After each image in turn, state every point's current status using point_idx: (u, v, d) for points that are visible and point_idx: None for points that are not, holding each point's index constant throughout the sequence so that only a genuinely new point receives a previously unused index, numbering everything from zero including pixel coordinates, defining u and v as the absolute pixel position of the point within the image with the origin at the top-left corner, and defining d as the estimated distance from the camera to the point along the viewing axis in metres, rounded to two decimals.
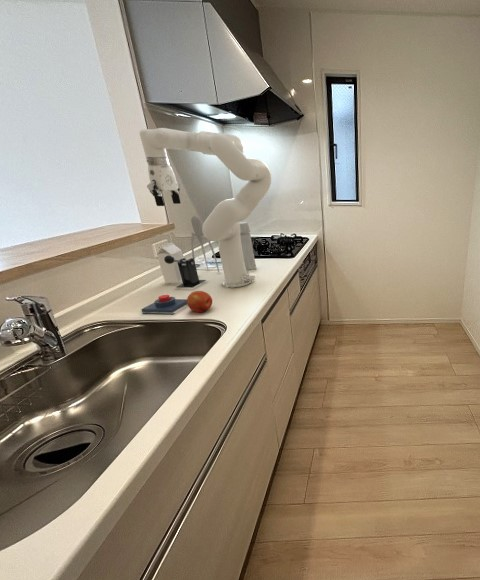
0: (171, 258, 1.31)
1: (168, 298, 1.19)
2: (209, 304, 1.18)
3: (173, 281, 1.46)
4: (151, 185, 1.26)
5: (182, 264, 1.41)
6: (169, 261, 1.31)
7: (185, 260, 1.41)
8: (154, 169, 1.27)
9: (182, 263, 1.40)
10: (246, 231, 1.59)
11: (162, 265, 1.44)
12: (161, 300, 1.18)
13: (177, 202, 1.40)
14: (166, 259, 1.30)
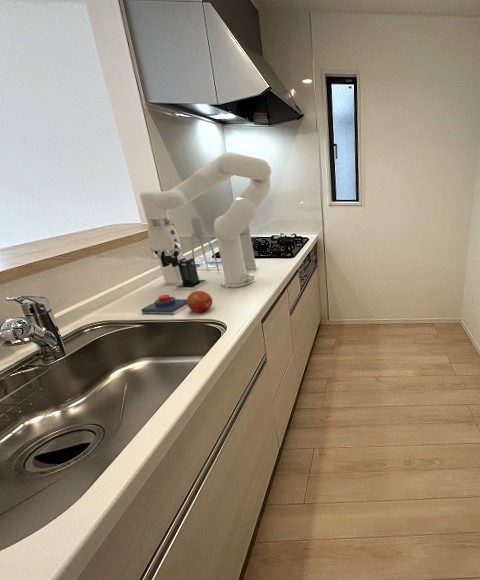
0: None
1: (168, 298, 1.19)
2: (209, 304, 1.18)
3: (173, 281, 1.46)
4: None
5: (182, 264, 1.41)
6: (169, 261, 1.31)
7: (185, 260, 1.41)
8: (174, 228, 1.28)
9: (182, 263, 1.40)
10: (246, 231, 1.59)
11: (162, 265, 1.44)
12: (161, 300, 1.18)
13: (167, 264, 1.34)
14: (166, 259, 1.30)
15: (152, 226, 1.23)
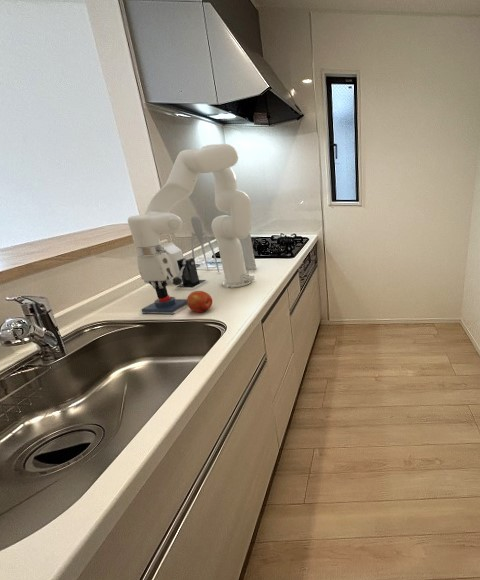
0: (179, 282, 1.36)
1: (168, 299, 1.19)
2: (209, 304, 1.18)
3: None
4: None
5: None
6: (179, 284, 1.37)
7: (185, 264, 1.40)
8: (166, 256, 1.14)
9: None
10: None
11: None
12: (161, 301, 1.18)
13: None
14: (176, 284, 1.36)
15: (142, 255, 1.09)
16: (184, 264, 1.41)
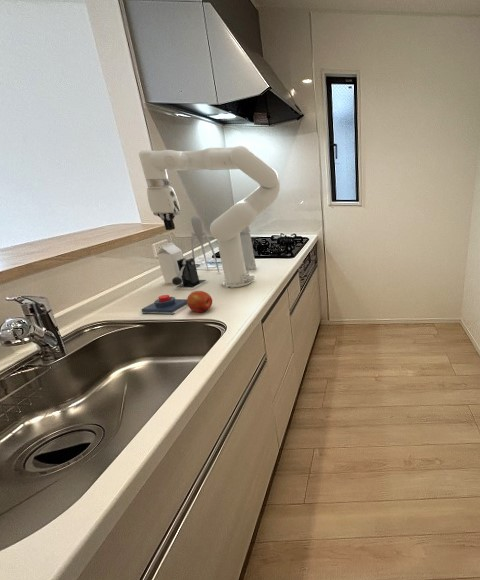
0: (179, 282, 1.36)
1: (168, 298, 1.19)
2: (209, 304, 1.18)
3: None
4: None
5: None
6: (179, 284, 1.37)
7: (185, 264, 1.40)
8: (173, 190, 1.28)
9: None
10: (246, 231, 1.59)
11: (162, 265, 1.44)
12: (161, 300, 1.18)
13: None
14: (176, 284, 1.36)
15: (151, 186, 1.23)
16: (184, 264, 1.41)
